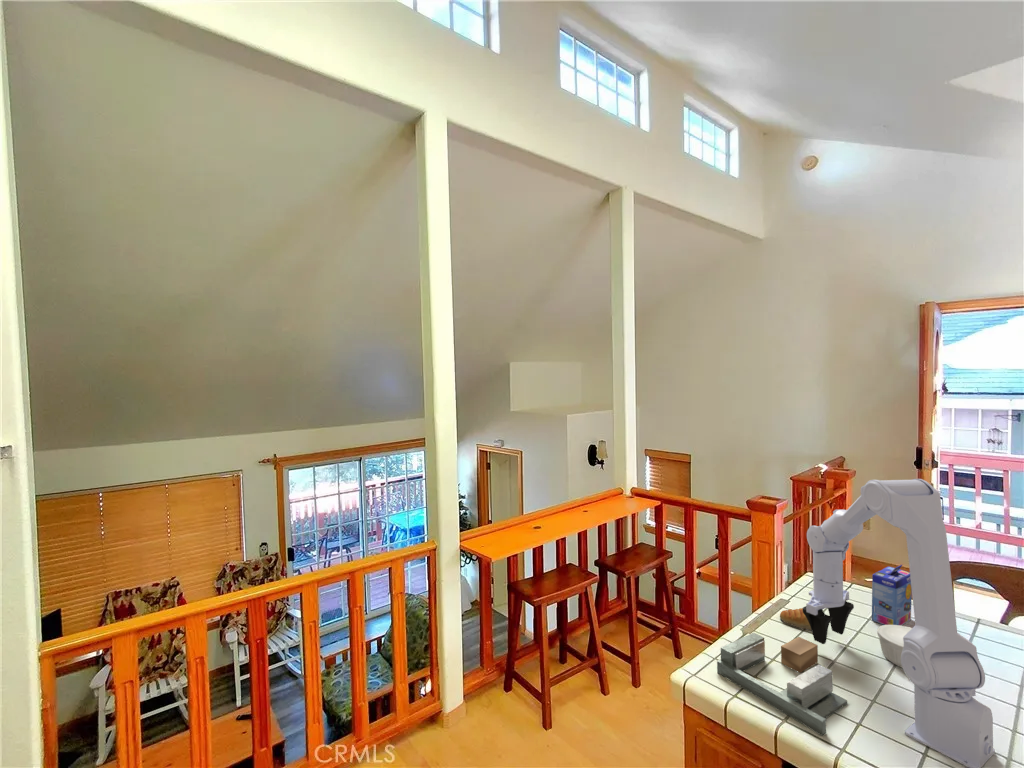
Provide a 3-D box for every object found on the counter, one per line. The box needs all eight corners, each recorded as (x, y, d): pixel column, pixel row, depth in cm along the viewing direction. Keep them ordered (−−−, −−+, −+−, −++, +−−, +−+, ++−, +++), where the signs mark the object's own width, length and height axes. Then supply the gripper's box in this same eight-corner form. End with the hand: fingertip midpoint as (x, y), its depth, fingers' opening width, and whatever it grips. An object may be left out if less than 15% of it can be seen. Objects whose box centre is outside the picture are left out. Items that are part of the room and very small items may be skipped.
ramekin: (958, 680, 97) (958, 654, 97) (896, 674, 99) (895, 649, 99) (923, 649, 108) (922, 626, 108) (867, 645, 110) (867, 622, 110)
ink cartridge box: (897, 631, 116) (896, 571, 116) (870, 621, 120) (869, 564, 120) (913, 619, 121) (912, 563, 121) (887, 611, 126) (886, 556, 125)
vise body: (859, 709, 89) (858, 683, 89) (822, 735, 82) (822, 707, 82) (754, 654, 107) (753, 632, 107) (717, 672, 101) (716, 649, 101)
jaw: (832, 691, 92) (832, 670, 92) (802, 710, 87) (801, 689, 87) (817, 683, 95) (816, 663, 95) (786, 701, 90) (785, 680, 90)
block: (817, 663, 104) (817, 645, 104) (800, 673, 100) (799, 654, 100) (799, 654, 107) (798, 636, 107) (781, 664, 103) (780, 645, 103)
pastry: (781, 626, 119) (781, 611, 119) (778, 614, 125) (777, 600, 125) (825, 633, 115) (825, 618, 115) (819, 621, 122) (819, 606, 122)
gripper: (826, 566, 116) (827, 621, 117) (792, 579, 109) (793, 637, 109) (858, 576, 110) (859, 634, 110) (825, 590, 103) (826, 652, 103)
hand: (828, 637), depth 109 cm, fingers open, 7 cm apart
